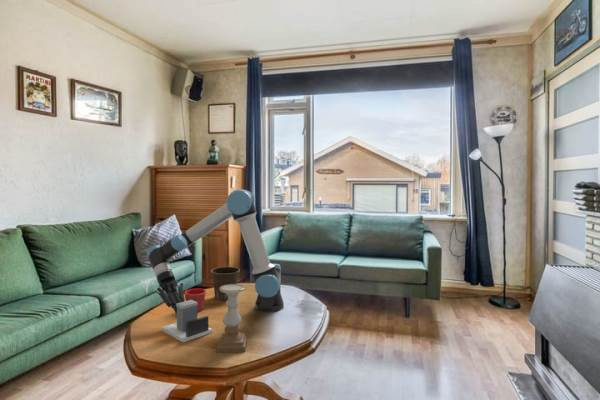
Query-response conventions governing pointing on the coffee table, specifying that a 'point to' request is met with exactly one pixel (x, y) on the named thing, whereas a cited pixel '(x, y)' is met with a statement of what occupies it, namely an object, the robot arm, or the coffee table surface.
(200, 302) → the flower pot
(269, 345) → the coffee table surface
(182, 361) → the coffee table surface
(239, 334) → the candle holder
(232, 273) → the plant pot
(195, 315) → the grey rectangular block
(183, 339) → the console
